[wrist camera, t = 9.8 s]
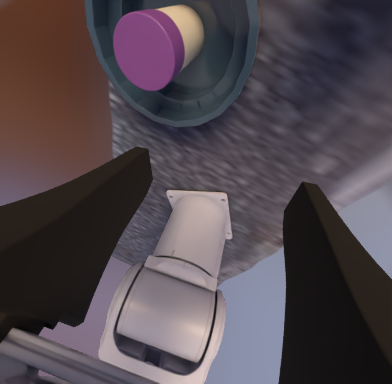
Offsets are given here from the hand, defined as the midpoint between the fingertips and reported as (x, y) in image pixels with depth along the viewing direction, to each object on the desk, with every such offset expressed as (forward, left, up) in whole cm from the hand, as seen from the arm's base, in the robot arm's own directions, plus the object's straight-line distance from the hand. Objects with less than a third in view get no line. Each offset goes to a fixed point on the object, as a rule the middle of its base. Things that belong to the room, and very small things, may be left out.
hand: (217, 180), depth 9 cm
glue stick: (+5, +4, -9) cm, 11 cm away
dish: (+5, +4, -9) cm, 11 cm away
